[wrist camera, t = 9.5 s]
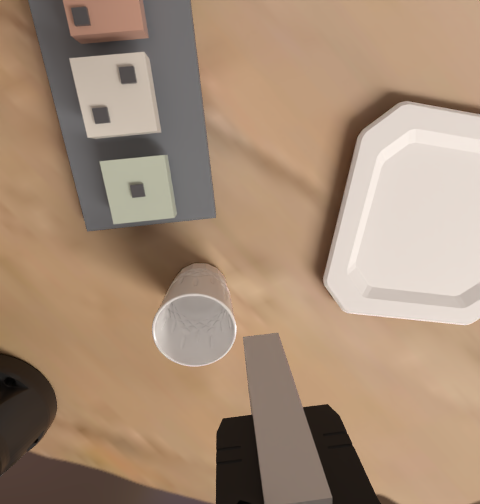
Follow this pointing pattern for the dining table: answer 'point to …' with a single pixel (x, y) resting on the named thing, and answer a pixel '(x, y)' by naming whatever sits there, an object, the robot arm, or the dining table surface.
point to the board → (168, 103)
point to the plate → (411, 218)
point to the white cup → (195, 317)
